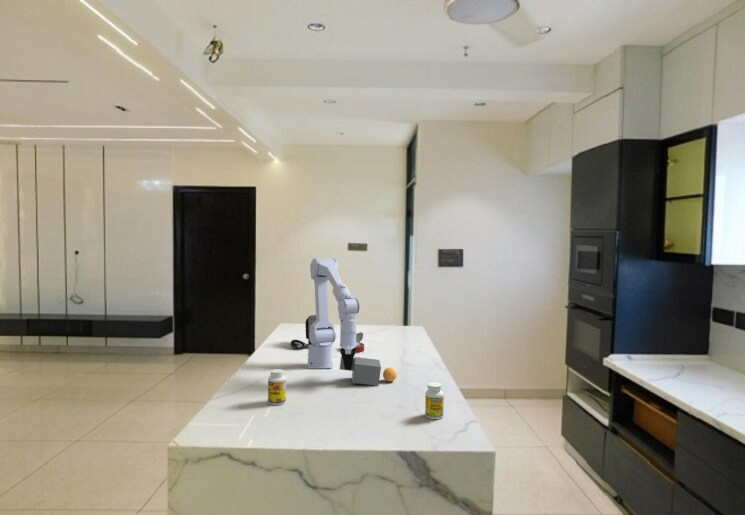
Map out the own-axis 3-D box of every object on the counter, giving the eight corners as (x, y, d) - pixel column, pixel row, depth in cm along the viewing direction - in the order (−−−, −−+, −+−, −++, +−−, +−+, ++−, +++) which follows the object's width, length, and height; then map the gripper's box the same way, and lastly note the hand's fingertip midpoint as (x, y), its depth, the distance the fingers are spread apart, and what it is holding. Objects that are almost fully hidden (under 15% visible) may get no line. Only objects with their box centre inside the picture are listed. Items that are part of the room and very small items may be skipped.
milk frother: (331, 346, 215) (331, 316, 214) (309, 353, 202) (309, 321, 201) (308, 342, 222) (308, 313, 222) (286, 348, 209) (286, 317, 209)
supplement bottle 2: (439, 412, 135) (440, 380, 135) (446, 419, 130) (446, 386, 129) (422, 413, 134) (423, 381, 133) (428, 420, 129) (429, 387, 128)
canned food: (361, 362, 204) (362, 346, 199) (340, 359, 206) (340, 342, 201) (366, 346, 214) (367, 330, 209) (346, 343, 215) (346, 327, 210)
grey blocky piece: (338, 381, 158) (341, 360, 157) (338, 373, 167) (341, 353, 167) (378, 385, 158) (381, 364, 158) (376, 377, 168) (379, 357, 167)
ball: (390, 366, 161) (400, 375, 161) (388, 363, 166) (398, 372, 166) (381, 377, 160) (391, 386, 161) (379, 373, 165) (389, 382, 166)
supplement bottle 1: (264, 404, 139) (264, 372, 139) (273, 398, 145) (273, 367, 144) (280, 406, 138) (280, 374, 137) (289, 400, 143) (289, 369, 143)
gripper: (359, 336, 155) (359, 374, 155) (358, 327, 169) (358, 363, 170) (339, 336, 154) (339, 374, 155) (340, 327, 169) (339, 363, 169)
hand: (347, 368), depth 162 cm, fingers closed on grey blocky piece
